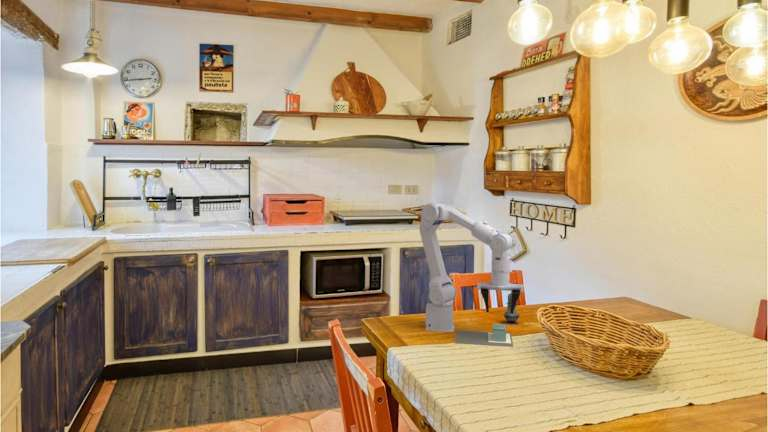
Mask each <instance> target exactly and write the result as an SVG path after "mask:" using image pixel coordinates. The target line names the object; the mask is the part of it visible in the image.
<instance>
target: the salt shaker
mask: <svg viewBox="0 0 768 432" xmlns="http://www.w3.org/2000/svg"><path fill="white" fill-rule="evenodd" d="M506 305H507V307H506V311H504V312H503V313H502V315H504V316H503V317H504V319H505V320H506V321H503V324H505V325H516V326H519V325H518V323H519V322H518V320H519V318H520V316H521V313H519V312H517V305H518V303H517V302H516V304H515V307H514V311H513V314H511V293H508V294H507V302H506Z"/></svg>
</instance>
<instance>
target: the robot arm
mask: <svg viewBox="0 0 768 432" xmlns="http://www.w3.org/2000/svg"><path fill="white" fill-rule="evenodd" d="M419 214H420V222H419V223H420V224H419V228H418V229H419V234H420V238H421V241H422V246H423V250H424V254H425V258H426V262H427V265H428V270H429V273H430V281H429V283H428V288H429V289H428V290H429V292H428V298H429V300H430V302H431V303H429V302H428V303H426V308H425V330H426V331H432V332H433V331H434V332H451V333H453V332H454V330H455V324H454V299H455V298H456V297H457V288H456V286H455V285H454V284H453V281H452V279H451V278H450V277H449V276H448V274H447V271H446V267H445V263H444V260H443V259H444V258H443V256H442V252H441V247H440V243H439V240H438V235H437V230H438V229H439V227H440V225H441V224H442V223H444V222H445V221H452V222H453V223H456V224H458V225H459V226H461V227H463V228H465V229H467V230H469V231H470V233H471V236H472V237H473V238H475V239H477V240H479V241H480V242H482V243H483V244H485V245H487V246H489V248H490V250H491V277H490V278H491V280H490V282H477V285H476V289H477V291H478V290H479V291H480V294H481V296H482V298H483V301H484V305H485V309H486V313H490V309H489V293H490V292H489V291H509V292H511V293H510V294H511V314H513V311H514V307H515V304H516V303H517V302H518V299H519V297H520V295H521V293H523V292H524V291H525V286H524V284H520V283H519V284H518V283H517V284H516V283H510V277H511V276H510V272H511V271H510V270H511V248H512V247H513V245H514V244H513V243H514V241H513V238H512V236H511V235H510V234H509V233H507V232H501V230H500V229H498V228H497V229H496V228H494V227H493V226H491V225H489V222H487V221H486V220H485V221H482V220H479V221H477V222H476V221H475V220H473V219H472V218H470V217H469V216H467V215H466V214H464V213H462V212H461V211H459V210H458V209H456V208H455V207H454V206H453V205H449V204H448V203H446V202H435V203H433V202H429V203H427V204H425V205H424V206H423V207H422V209H421V210H420V213H419Z"/></svg>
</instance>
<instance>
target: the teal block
mask: <svg viewBox="0 0 768 432" xmlns="http://www.w3.org/2000/svg"><path fill="white" fill-rule="evenodd" d="M492 332H493V341H497V342H506V333H507V327H506V324H504V323H492Z"/></svg>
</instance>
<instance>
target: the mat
mask: <svg viewBox="0 0 768 432" xmlns="http://www.w3.org/2000/svg"><path fill="white" fill-rule="evenodd" d="M455 333H456V334H455V338H454V339H455V340H454V344H462V345H463V344H464V345H475V346H494V347H507V348H508V347H509V348H510V347H511V348H514V342H513V337H512V333H510V332H506V342H497V341H493V331H477V330H476V331H475V330H464V329H463V330H461V329H456V332H455Z"/></svg>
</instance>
